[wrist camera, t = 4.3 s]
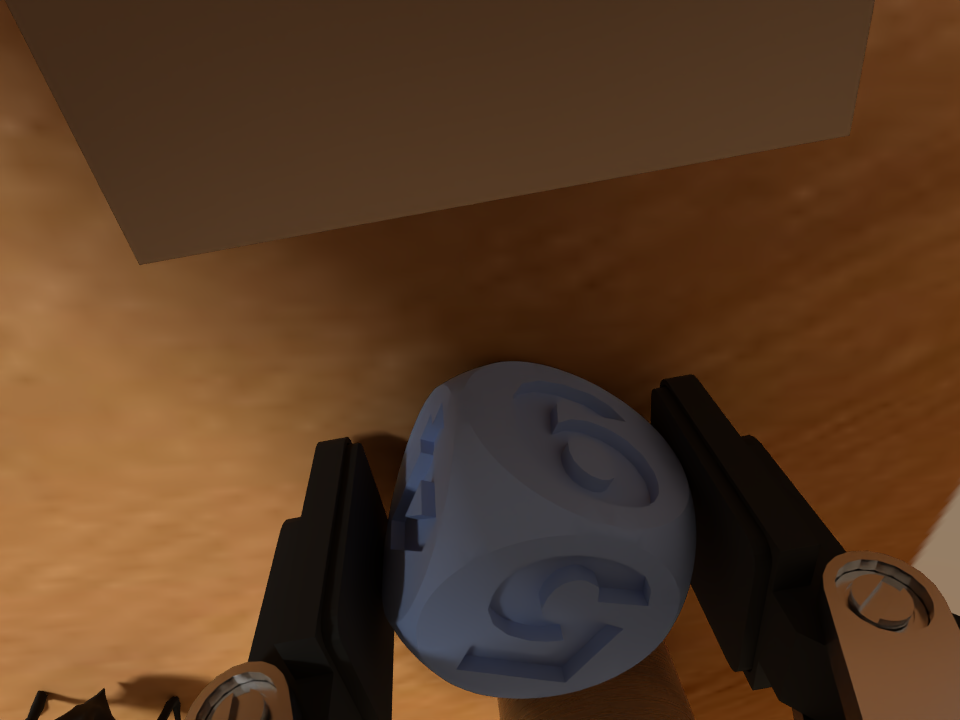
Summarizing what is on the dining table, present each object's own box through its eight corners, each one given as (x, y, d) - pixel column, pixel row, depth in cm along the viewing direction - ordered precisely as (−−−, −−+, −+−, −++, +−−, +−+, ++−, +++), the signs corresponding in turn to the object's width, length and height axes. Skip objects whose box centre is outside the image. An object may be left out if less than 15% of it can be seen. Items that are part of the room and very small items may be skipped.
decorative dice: (384, 494, 12) (374, 687, 9) (449, 334, 10) (467, 502, 7) (556, 528, 13) (606, 713, 10) (642, 390, 11) (741, 558, 8)
